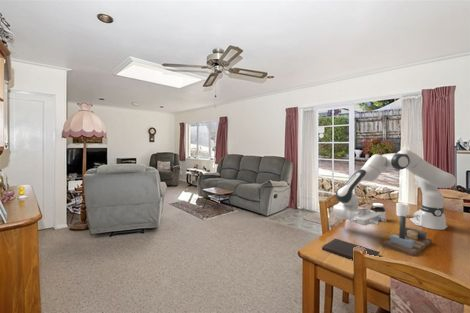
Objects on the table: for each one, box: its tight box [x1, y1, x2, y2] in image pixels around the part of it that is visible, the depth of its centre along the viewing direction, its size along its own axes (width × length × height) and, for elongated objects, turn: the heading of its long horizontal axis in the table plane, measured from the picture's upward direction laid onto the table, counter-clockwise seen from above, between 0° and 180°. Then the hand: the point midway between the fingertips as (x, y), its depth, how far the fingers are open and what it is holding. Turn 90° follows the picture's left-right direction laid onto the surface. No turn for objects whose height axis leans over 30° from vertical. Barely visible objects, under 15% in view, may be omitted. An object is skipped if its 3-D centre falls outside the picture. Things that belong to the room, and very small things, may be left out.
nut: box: [407, 230, 418, 240], centre depth 134 cm, size 5×5×4 cm
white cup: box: [395, 201, 409, 218], centre depth 183 cm, size 8×8×10 cm
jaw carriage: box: [389, 216, 415, 249], centre depth 125 cm, size 4×10×16 cm, turn 35°
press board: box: [382, 226, 432, 257], centre depth 130 cm, size 28×14×6 cm, turn 125°
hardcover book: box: [321, 238, 381, 261], centre depth 121 cm, size 16×23×2 cm
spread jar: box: [369, 202, 387, 222], centre depth 174 cm, size 12×11×12 cm
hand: (382, 221), depth 133 cm, fingers open, 8 cm apart
